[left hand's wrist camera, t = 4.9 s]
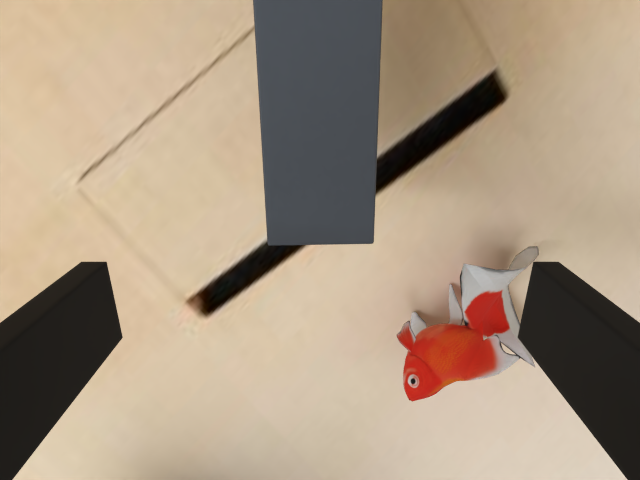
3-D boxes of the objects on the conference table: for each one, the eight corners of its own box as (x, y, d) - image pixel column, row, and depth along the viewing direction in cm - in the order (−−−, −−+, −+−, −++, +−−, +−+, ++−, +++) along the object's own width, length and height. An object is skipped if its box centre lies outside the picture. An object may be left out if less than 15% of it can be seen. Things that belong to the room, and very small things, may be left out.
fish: (340, 311, 32) (436, 393, 24) (471, 195, 36) (589, 234, 28) (380, 378, 38) (465, 460, 31) (487, 274, 42) (587, 324, 34)
